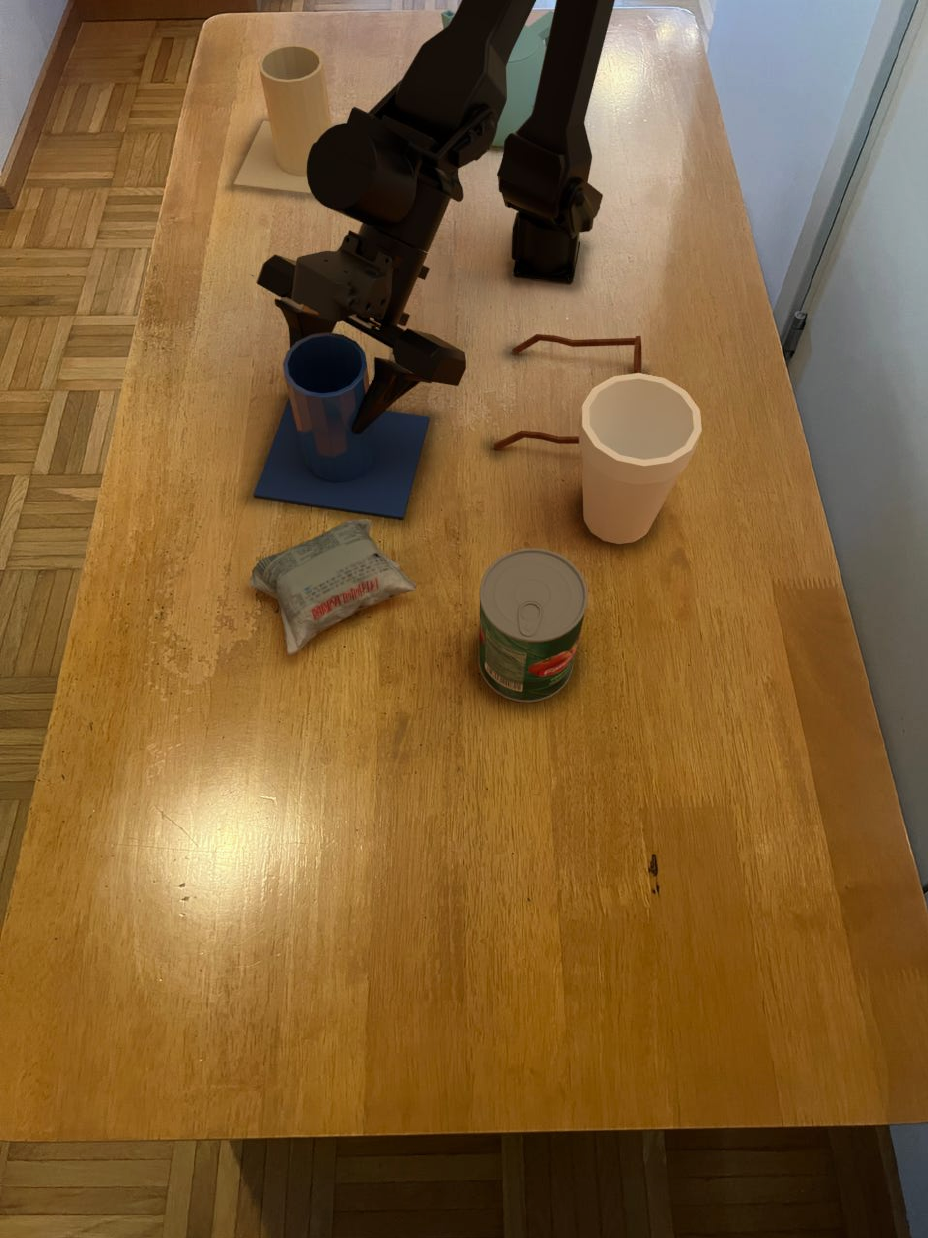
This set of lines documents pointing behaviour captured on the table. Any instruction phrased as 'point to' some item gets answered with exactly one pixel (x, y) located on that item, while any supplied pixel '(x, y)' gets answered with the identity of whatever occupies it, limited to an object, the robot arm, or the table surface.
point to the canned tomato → (530, 623)
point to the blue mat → (368, 494)
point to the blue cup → (330, 405)
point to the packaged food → (328, 580)
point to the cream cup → (295, 103)
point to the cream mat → (268, 166)
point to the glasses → (571, 343)
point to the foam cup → (633, 452)
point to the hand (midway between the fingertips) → (324, 413)
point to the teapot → (520, 74)
